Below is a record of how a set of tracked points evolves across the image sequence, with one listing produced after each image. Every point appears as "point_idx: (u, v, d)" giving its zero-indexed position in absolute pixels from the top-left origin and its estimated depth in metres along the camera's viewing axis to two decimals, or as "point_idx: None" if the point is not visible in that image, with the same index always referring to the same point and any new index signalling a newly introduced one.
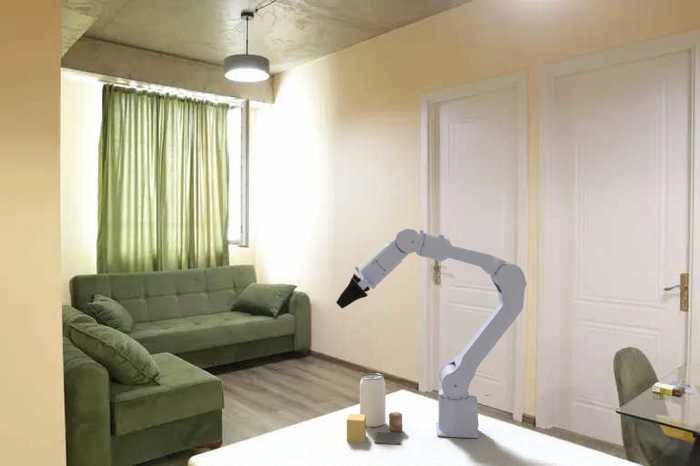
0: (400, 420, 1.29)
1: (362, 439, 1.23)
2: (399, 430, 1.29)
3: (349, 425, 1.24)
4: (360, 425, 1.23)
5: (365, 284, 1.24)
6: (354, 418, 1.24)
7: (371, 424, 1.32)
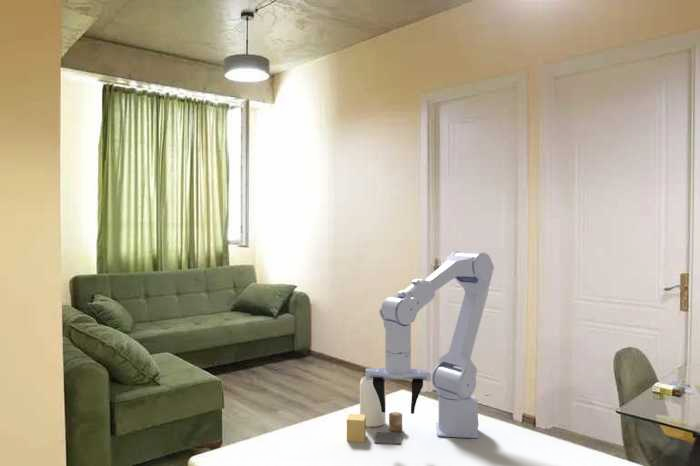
0: (400, 420, 1.29)
1: (362, 439, 1.23)
2: (399, 430, 1.29)
3: (349, 425, 1.24)
4: (360, 425, 1.23)
5: None
6: (354, 418, 1.24)
7: (371, 424, 1.32)
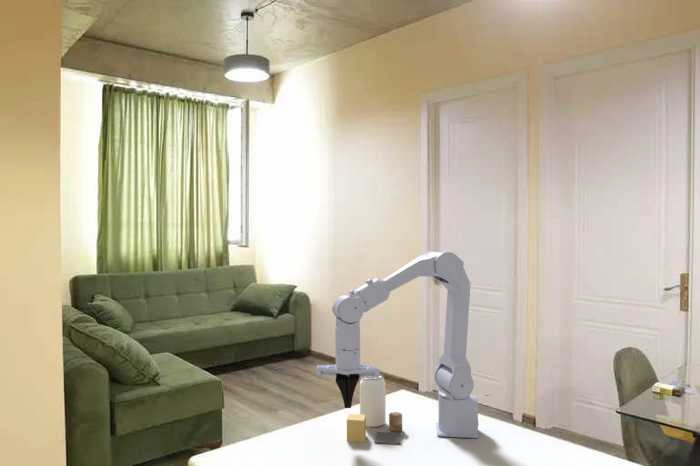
0: (400, 420, 1.29)
1: (362, 439, 1.23)
2: (399, 430, 1.29)
3: (349, 425, 1.24)
4: (360, 425, 1.23)
5: (379, 370, 1.22)
6: (354, 418, 1.24)
7: (371, 424, 1.32)
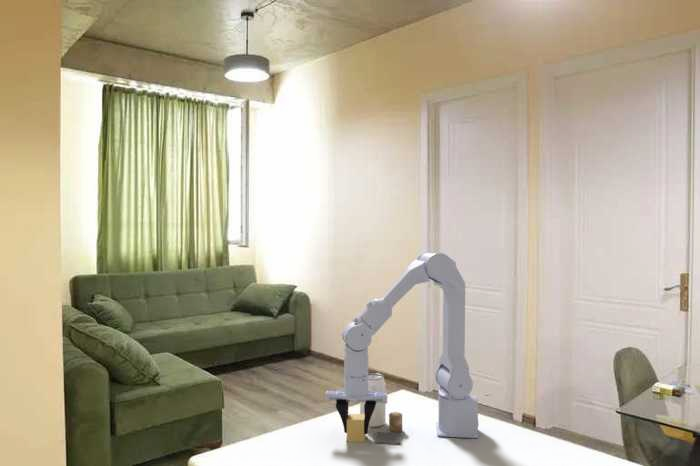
0: (400, 420, 1.29)
1: (362, 439, 1.23)
2: (399, 430, 1.29)
3: (349, 425, 1.24)
4: (360, 425, 1.23)
5: None
6: (354, 418, 1.24)
7: (371, 424, 1.32)
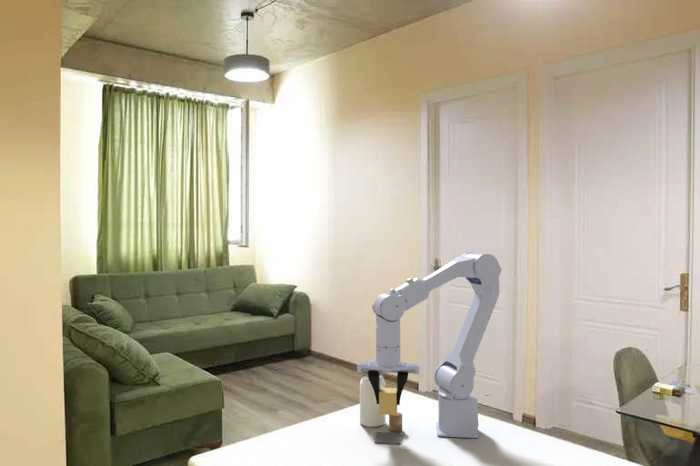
0: (400, 420, 1.29)
1: (395, 412, 1.23)
2: (399, 430, 1.29)
3: (382, 398, 1.23)
4: (393, 398, 1.23)
5: None
6: (387, 391, 1.24)
7: (371, 424, 1.32)
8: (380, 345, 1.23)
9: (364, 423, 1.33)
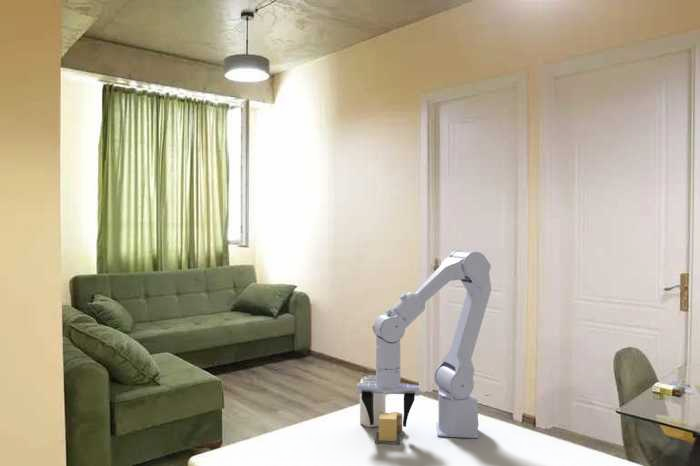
0: (400, 420, 1.29)
1: (394, 438, 1.23)
2: (399, 430, 1.29)
3: (382, 424, 1.23)
4: (392, 424, 1.23)
5: None
6: (386, 417, 1.24)
7: None
8: (380, 366, 1.23)
9: (364, 423, 1.33)
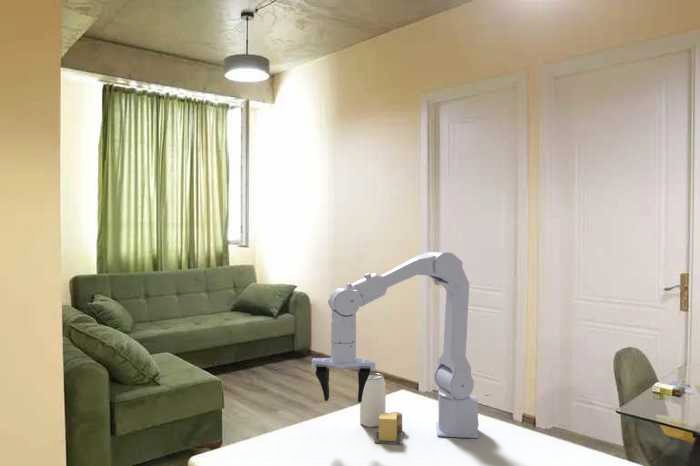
0: (400, 420, 1.29)
1: (394, 438, 1.23)
2: (399, 430, 1.29)
3: (382, 424, 1.23)
4: (392, 424, 1.23)
5: None
6: (386, 417, 1.24)
7: (371, 424, 1.32)
8: (335, 340, 1.20)
9: (364, 423, 1.33)
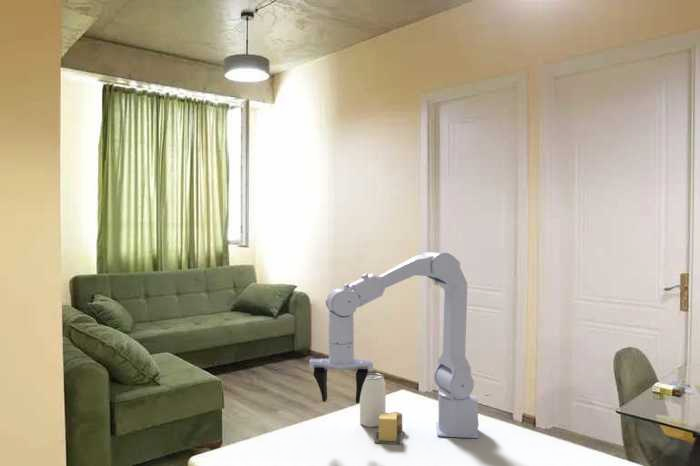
0: (400, 420, 1.29)
1: (394, 438, 1.23)
2: (399, 430, 1.29)
3: (382, 424, 1.23)
4: (392, 424, 1.23)
5: None
6: (386, 417, 1.24)
7: (371, 424, 1.32)
8: (332, 341, 1.20)
9: (364, 423, 1.33)
